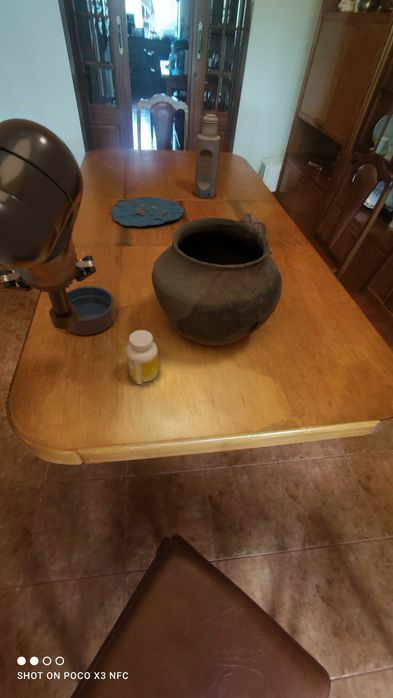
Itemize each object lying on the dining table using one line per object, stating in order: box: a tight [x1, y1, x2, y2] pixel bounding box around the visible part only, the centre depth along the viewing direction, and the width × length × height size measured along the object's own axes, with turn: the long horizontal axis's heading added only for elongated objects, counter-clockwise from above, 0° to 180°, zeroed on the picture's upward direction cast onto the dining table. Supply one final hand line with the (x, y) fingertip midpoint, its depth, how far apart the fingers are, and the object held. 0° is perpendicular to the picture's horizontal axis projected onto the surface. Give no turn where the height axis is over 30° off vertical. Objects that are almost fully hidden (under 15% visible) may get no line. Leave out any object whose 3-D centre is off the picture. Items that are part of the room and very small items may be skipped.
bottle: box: [193, 113, 221, 199], centre depth 135 cm, size 10×10×30 cm
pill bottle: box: [125, 329, 160, 385], centre depth 67 cm, size 6×6×12 cm
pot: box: [151, 217, 283, 346], centre depth 75 cm, size 29×32×25 cm
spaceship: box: [241, 212, 273, 255], centre depth 114 cm, size 8×35×8 cm
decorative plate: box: [110, 196, 184, 228], centre depth 126 cm, size 30×30×5 cm
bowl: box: [65, 285, 117, 336], centre depth 81 cm, size 14×14×6 cm
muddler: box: [47, 288, 79, 330], centre depth 56 cm, size 5×5×11 cm
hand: (54, 284), depth 56 cm, fingers closed on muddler, 3 cm apart
